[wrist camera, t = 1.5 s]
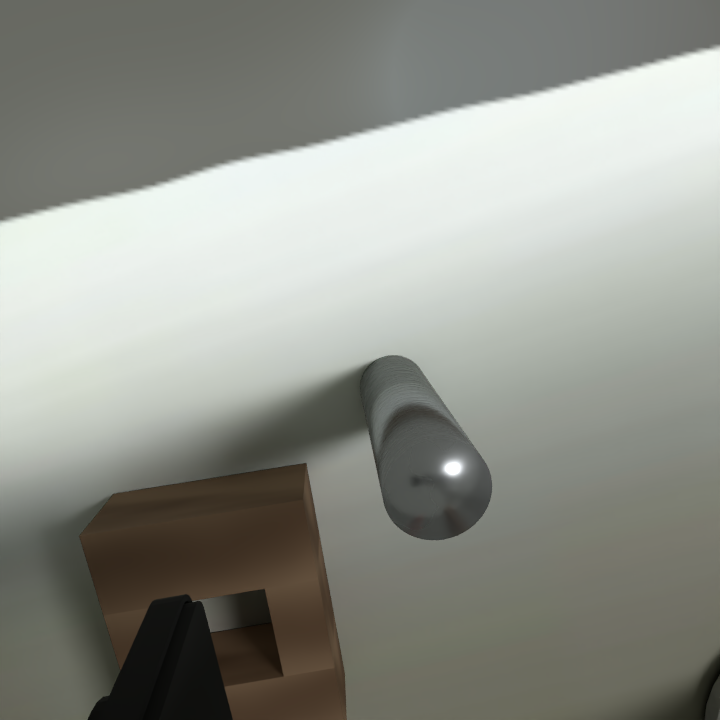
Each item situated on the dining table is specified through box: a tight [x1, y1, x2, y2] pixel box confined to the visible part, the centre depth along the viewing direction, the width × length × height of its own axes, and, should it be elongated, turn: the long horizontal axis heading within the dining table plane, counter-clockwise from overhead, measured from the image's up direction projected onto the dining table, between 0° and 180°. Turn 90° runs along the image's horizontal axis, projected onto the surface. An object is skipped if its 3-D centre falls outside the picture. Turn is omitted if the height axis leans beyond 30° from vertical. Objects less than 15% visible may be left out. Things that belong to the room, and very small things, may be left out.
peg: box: [360, 355, 492, 540], centre depth 19 cm, size 3×3×10 cm
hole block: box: [79, 463, 347, 720], centre depth 24 cm, size 12×9×4 cm
